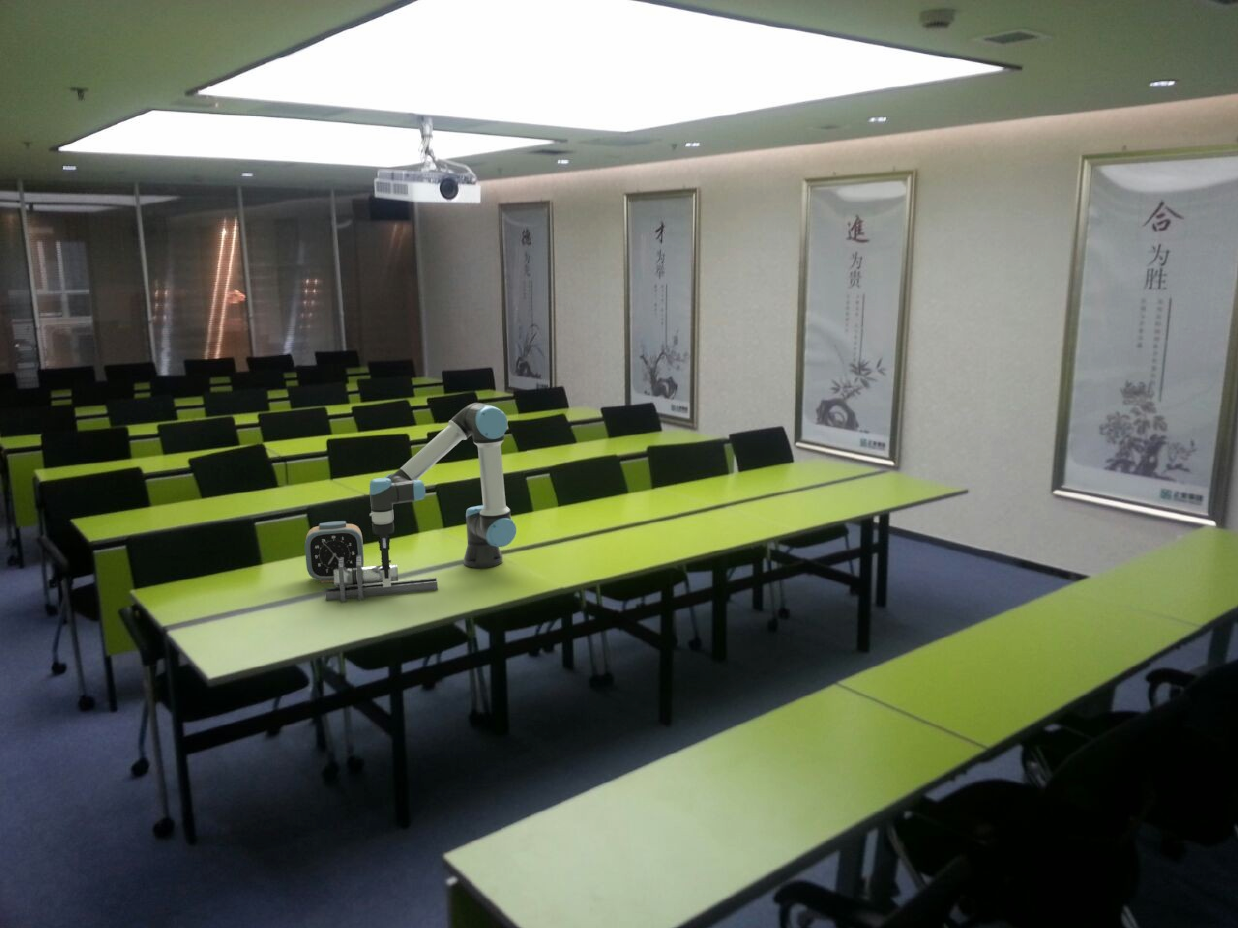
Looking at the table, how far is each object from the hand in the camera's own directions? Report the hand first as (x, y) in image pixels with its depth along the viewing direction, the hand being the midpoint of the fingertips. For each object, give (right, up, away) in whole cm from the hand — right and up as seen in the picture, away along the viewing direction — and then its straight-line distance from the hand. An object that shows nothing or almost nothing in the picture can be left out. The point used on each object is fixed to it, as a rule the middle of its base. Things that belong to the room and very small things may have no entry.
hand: (386, 583), depth 337 cm
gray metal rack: (-2, -3, 0) cm, 4 cm away
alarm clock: (-23, -1, +18) cm, 30 cm away
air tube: (-7, 0, -2) cm, 7 cm away
